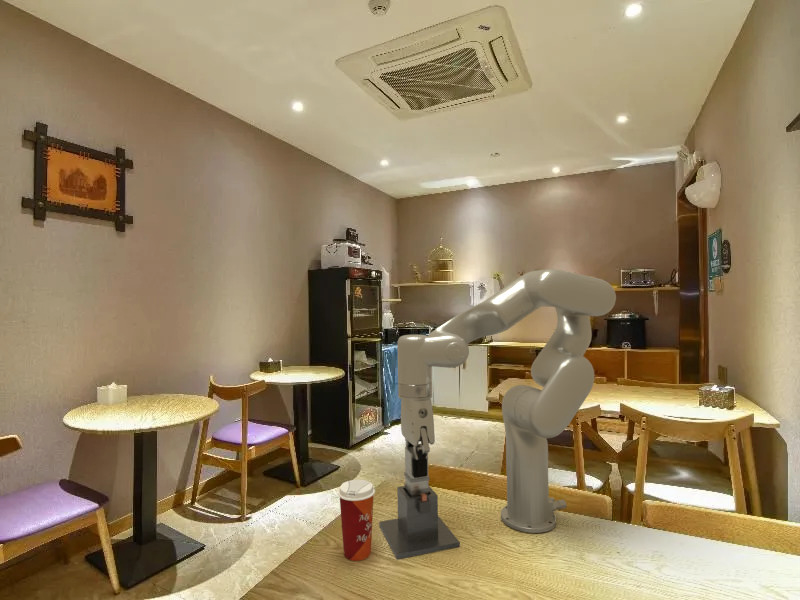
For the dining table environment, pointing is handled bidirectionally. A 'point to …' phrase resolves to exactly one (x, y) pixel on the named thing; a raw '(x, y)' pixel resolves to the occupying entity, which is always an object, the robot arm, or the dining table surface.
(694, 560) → the dining table surface
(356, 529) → the paper cup
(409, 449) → the column
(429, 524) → the stand base
